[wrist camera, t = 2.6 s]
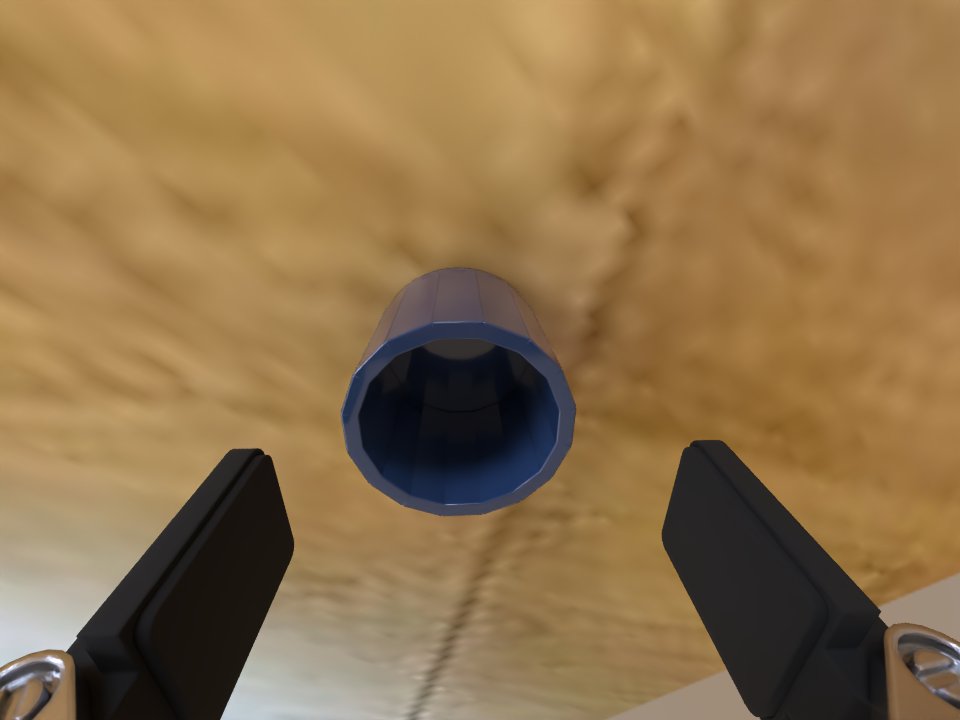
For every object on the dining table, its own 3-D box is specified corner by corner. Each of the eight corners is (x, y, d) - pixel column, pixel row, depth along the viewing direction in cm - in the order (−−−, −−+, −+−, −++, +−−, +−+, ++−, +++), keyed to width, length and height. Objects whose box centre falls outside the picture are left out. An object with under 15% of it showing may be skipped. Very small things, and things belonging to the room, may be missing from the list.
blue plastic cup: (387, 415, 18) (357, 520, 13) (370, 268, 16) (324, 323, 10) (533, 411, 19) (564, 512, 13) (543, 266, 16) (587, 319, 11)
